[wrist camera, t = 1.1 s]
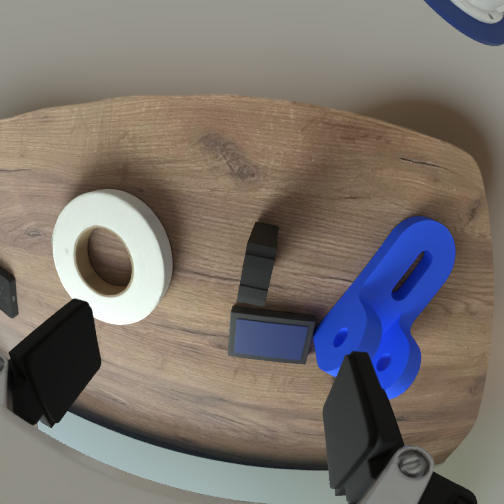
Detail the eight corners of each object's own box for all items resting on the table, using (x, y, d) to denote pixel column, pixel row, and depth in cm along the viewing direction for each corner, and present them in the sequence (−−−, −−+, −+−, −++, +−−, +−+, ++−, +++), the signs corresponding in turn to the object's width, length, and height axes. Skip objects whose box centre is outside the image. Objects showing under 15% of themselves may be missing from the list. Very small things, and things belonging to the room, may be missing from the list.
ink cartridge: (268, 272, 30) (264, 310, 22) (246, 267, 30) (235, 304, 22) (279, 225, 28) (278, 250, 20) (256, 220, 28) (247, 243, 20)
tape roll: (173, 189, 28) (162, 192, 25) (176, 322, 33) (168, 335, 30) (61, 189, 29) (46, 192, 26) (74, 302, 34) (63, 311, 31)
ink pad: (314, 315, 31) (316, 322, 29) (304, 357, 33) (305, 365, 31) (232, 305, 31) (230, 312, 30) (229, 348, 33) (227, 356, 32)
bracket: (363, 360, 32) (380, 411, 24) (312, 331, 31) (320, 385, 23) (457, 244, 27) (503, 273, 18) (412, 200, 26) (460, 218, 17)
